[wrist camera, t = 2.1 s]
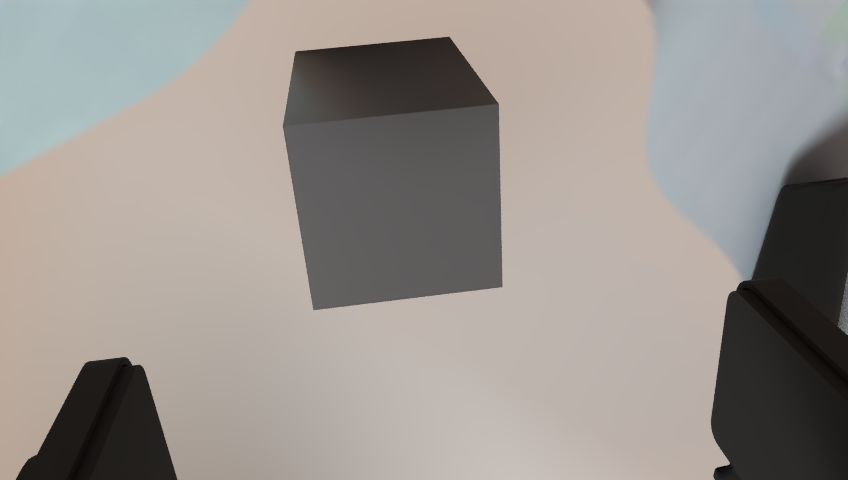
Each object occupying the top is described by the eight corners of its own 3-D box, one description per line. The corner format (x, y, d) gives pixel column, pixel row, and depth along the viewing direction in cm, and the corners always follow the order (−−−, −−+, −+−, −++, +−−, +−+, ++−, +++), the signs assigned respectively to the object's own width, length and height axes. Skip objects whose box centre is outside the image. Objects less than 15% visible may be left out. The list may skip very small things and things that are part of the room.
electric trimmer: (851, 144, 25) (916, 177, 23) (784, 471, 32) (828, 527, 30) (748, 156, 25) (801, 191, 22) (704, 483, 32) (740, 541, 29)
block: (295, 51, 21) (282, 126, 15) (449, 36, 22) (498, 103, 15) (316, 193, 23) (313, 309, 17) (456, 178, 24) (502, 286, 18)
